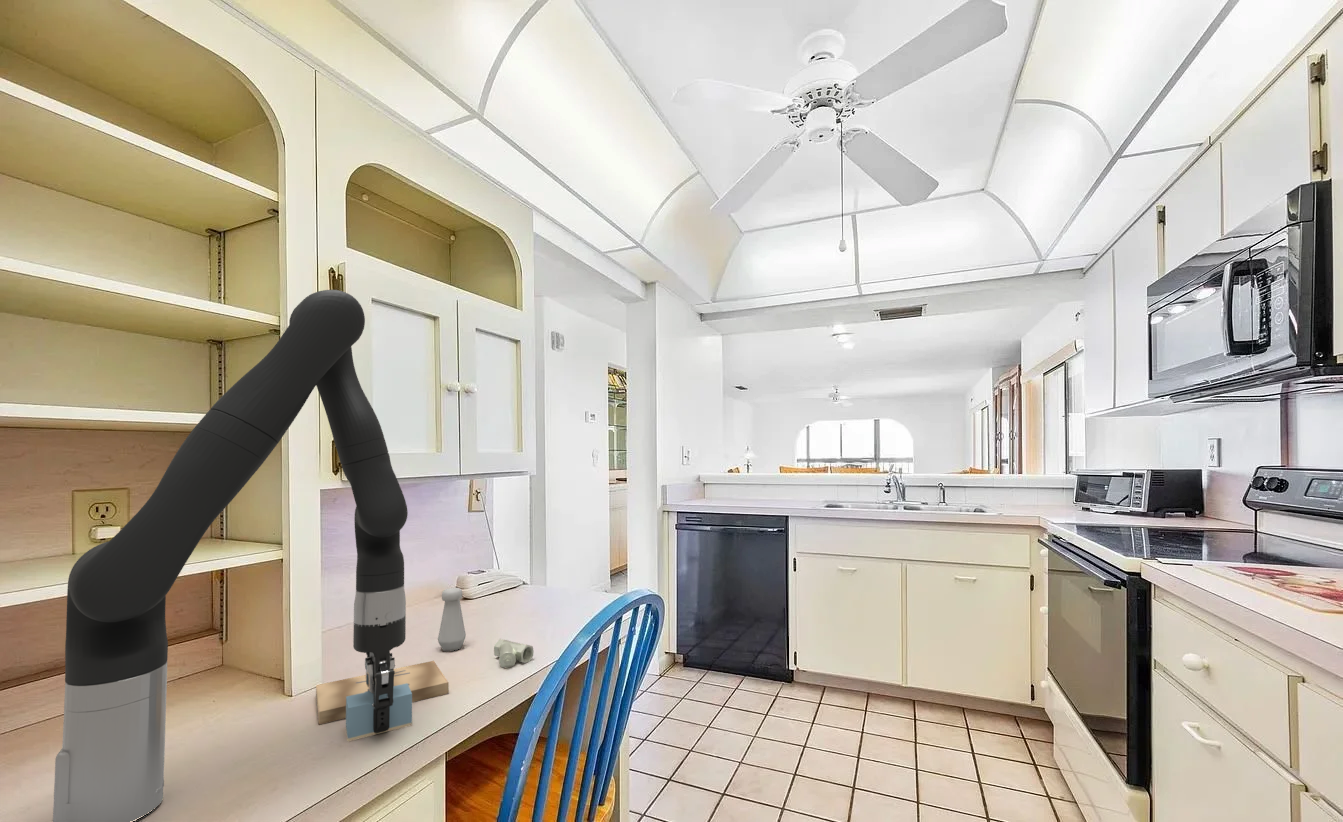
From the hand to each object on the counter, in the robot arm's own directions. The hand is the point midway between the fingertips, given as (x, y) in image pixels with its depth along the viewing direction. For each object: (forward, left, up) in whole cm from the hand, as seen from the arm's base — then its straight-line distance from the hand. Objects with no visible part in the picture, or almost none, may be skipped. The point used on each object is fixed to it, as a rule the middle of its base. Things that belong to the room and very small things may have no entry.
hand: (379, 723), depth 93 cm
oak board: (+2, +13, 0) cm, 13 cm away
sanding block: (0, 0, -1) cm, 1 cm away
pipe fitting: (+26, +16, -1) cm, 30 cm away
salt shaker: (+18, +31, -1) cm, 36 cm away
